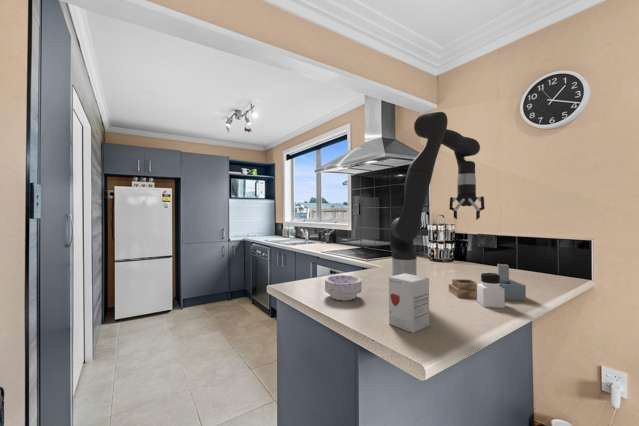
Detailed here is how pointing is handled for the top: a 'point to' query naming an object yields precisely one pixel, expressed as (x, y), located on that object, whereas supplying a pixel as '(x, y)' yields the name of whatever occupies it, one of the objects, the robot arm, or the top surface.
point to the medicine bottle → (490, 291)
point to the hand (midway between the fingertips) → (466, 219)
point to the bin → (514, 290)
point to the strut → (503, 273)
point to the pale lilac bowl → (343, 287)
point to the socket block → (463, 288)
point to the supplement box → (409, 302)
